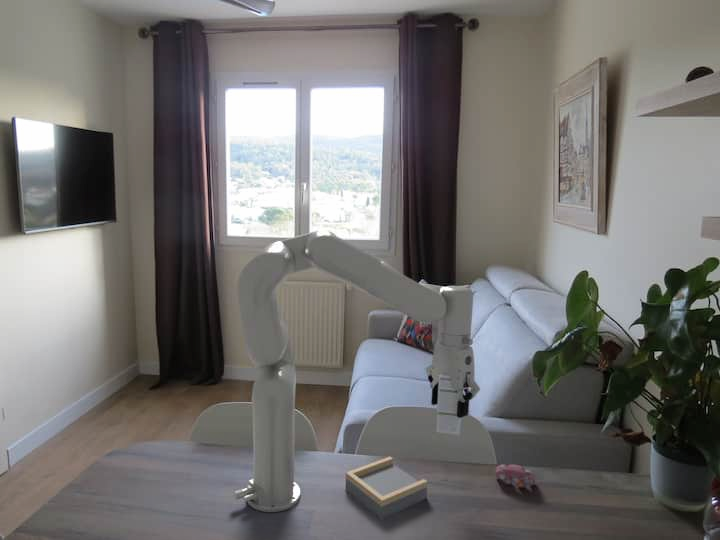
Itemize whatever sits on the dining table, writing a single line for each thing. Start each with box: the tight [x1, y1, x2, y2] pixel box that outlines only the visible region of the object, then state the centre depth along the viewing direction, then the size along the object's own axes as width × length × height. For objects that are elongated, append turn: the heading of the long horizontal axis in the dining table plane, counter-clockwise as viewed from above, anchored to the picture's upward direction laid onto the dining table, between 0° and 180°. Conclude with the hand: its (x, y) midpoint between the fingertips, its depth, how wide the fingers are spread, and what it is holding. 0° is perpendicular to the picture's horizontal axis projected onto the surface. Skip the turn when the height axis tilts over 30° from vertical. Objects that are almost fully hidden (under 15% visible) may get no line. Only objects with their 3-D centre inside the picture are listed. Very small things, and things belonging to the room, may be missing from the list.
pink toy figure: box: [494, 463, 536, 488], centre depth 131 cm, size 10×5×7 cm, turn 70°
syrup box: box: [435, 373, 464, 436], centre depth 124 cm, size 6×6×14 cm
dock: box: [345, 456, 428, 519], centre depth 126 cm, size 14×14×4 cm
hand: (449, 409), depth 124 cm, fingers closed on syrup box, 7 cm apart
